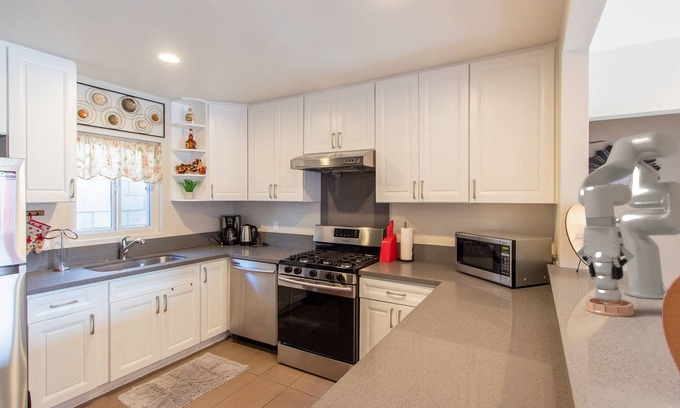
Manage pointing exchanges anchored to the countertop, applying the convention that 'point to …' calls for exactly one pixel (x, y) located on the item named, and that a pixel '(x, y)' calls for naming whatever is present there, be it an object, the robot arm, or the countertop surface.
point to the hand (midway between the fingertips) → (606, 277)
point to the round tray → (610, 308)
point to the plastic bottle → (605, 279)
